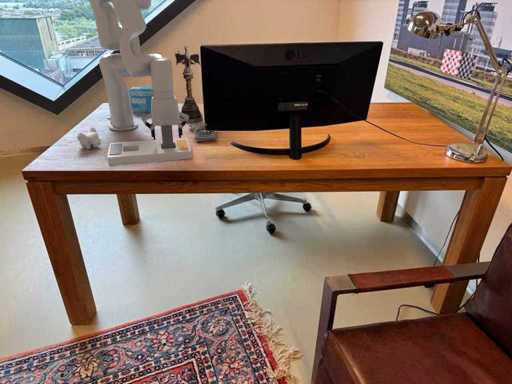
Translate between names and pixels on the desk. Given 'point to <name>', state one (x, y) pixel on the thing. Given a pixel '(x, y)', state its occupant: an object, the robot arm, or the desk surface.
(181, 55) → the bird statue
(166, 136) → the grey long rectangular block
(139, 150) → the socket block
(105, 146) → the desk surface
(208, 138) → the graphics card
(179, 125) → the robot arm
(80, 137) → the elephant figurine
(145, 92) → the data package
